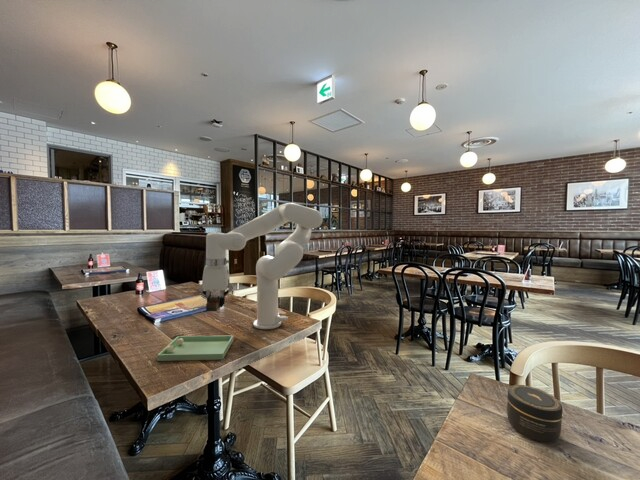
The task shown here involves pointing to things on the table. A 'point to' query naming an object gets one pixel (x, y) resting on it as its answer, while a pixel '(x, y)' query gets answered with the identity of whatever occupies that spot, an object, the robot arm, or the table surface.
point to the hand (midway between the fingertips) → (215, 305)
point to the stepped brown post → (214, 302)
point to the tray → (197, 348)
